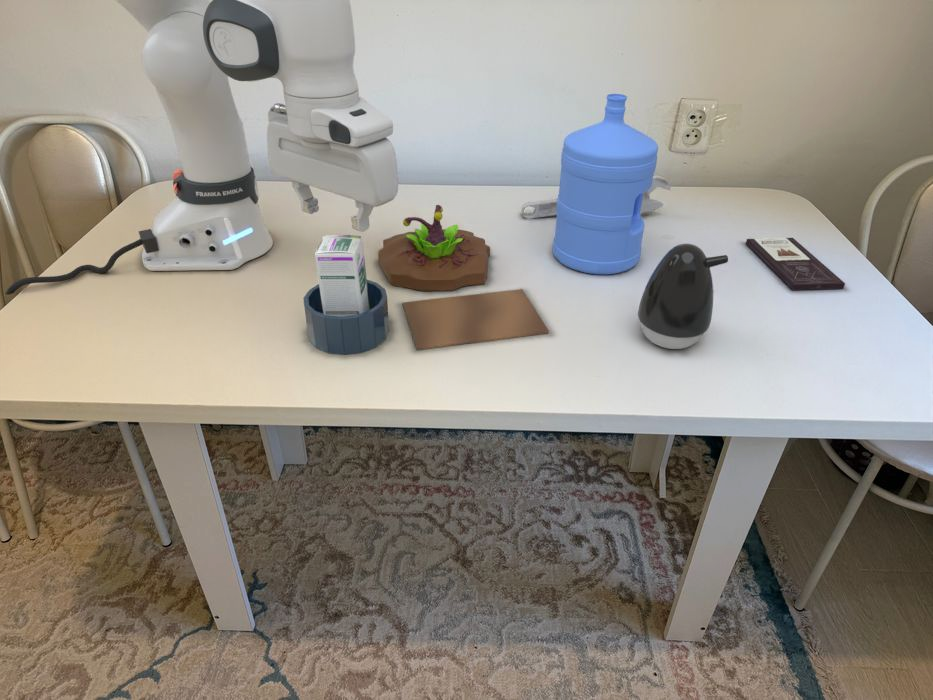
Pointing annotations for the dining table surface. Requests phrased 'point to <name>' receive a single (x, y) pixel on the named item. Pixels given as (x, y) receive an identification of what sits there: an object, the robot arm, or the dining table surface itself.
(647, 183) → the water jug
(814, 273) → the chocolate bar
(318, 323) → the pipe section
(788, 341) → the dining table surface
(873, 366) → the dining table surface
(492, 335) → the brown flat rectangular board
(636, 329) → the dining table surface
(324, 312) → the syrup box
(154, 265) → the robot arm
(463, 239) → the plant
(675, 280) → the pump dispenser
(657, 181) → the wrench
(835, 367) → the dining table surface
